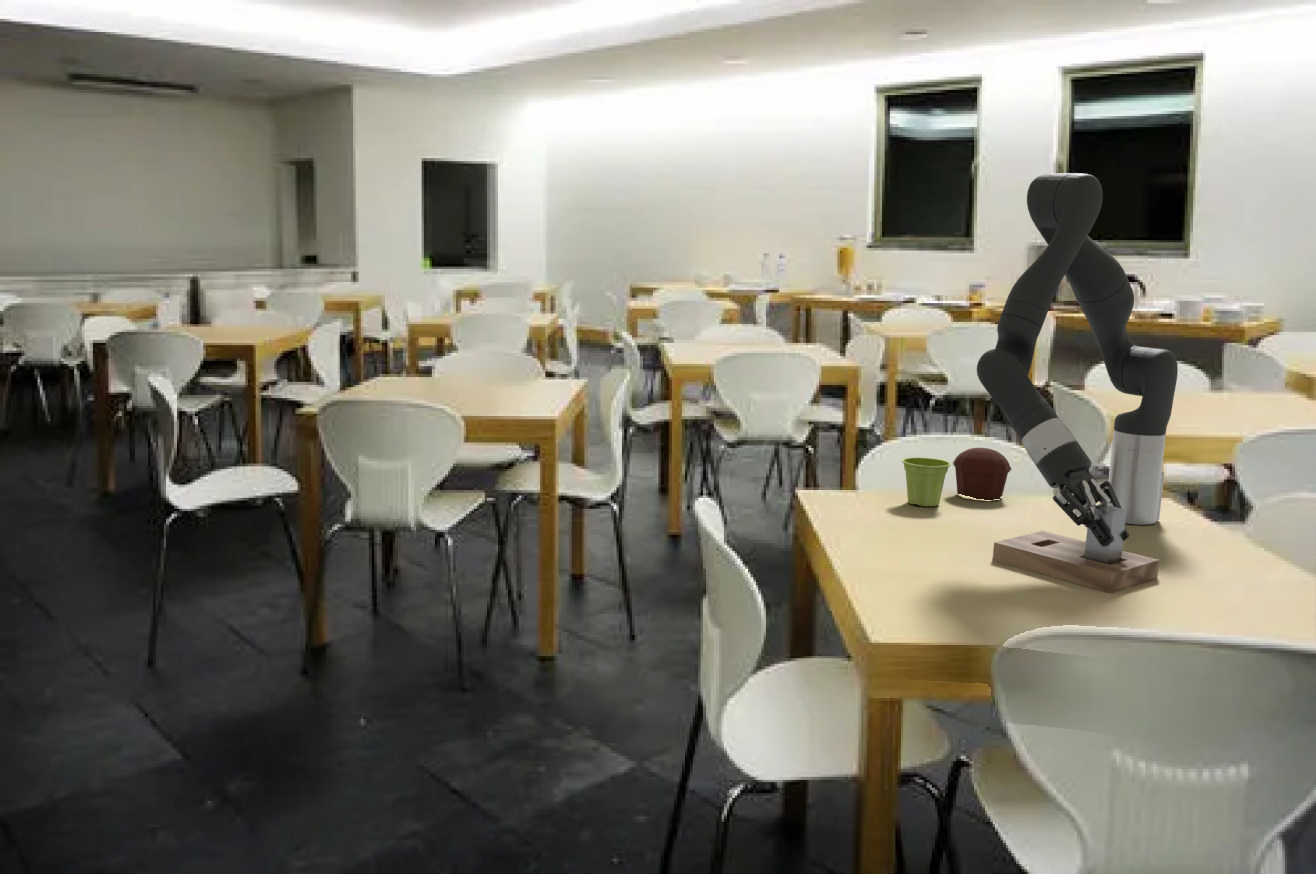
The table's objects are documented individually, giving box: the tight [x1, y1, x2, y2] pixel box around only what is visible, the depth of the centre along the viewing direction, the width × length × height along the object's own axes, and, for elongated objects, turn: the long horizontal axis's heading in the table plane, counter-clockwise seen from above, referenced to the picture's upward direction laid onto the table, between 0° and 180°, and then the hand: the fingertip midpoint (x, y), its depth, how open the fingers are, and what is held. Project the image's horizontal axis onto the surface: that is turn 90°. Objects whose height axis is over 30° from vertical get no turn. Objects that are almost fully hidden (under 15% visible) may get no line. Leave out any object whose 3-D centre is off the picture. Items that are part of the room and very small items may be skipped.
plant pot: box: [901, 457, 952, 507], centre depth 228 cm, size 9×9×9 cm
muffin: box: [952, 447, 1012, 500], centre depth 236 cm, size 12×11×10 cm
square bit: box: [1084, 504, 1127, 565], centre depth 181 cm, size 4×4×9 cm
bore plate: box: [992, 530, 1160, 594], centre depth 186 cm, size 14×21×3 cm, turn 39°
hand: (1116, 541), depth 179 cm, fingers closed on square bit, 4 cm apart
